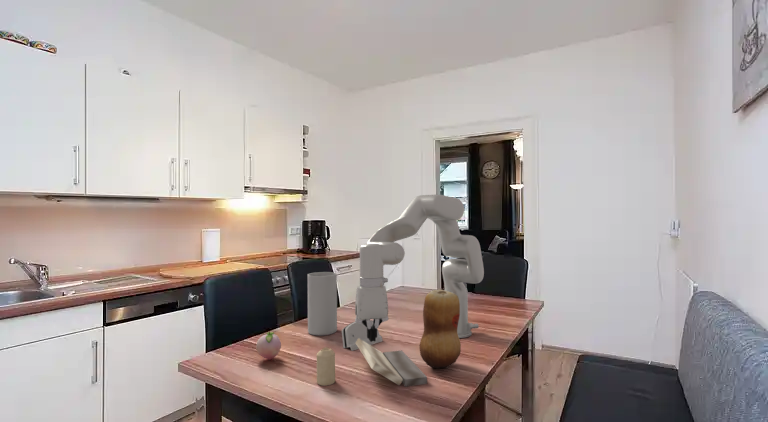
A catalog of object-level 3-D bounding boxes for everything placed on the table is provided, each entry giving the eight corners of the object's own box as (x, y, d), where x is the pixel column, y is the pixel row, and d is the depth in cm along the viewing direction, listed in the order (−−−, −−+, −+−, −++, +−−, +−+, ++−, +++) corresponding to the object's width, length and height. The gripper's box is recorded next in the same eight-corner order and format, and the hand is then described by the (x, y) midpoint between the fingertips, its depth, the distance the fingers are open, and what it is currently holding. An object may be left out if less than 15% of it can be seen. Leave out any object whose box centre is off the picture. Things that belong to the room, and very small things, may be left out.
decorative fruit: (255, 357, 139) (255, 329, 140) (279, 354, 142) (279, 326, 142) (257, 366, 131) (256, 336, 131) (282, 363, 134) (282, 333, 134)
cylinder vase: (302, 334, 166) (301, 275, 166) (317, 326, 178) (317, 271, 178) (327, 337, 161) (327, 277, 162) (342, 329, 173) (341, 272, 173)
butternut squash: (451, 378, 120) (450, 296, 120) (412, 369, 127) (412, 292, 127) (467, 363, 131) (466, 289, 132) (431, 356, 139) (430, 285, 139)
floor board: (401, 356, 139) (401, 350, 139) (427, 383, 116) (427, 376, 116) (383, 358, 137) (383, 352, 137) (404, 386, 114) (404, 379, 114)
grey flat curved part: (351, 351, 145) (345, 323, 147) (343, 352, 148) (338, 325, 150) (383, 340, 156) (377, 315, 159) (376, 342, 160) (370, 317, 162)
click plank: (378, 357, 137) (381, 352, 137) (399, 385, 114) (403, 379, 114) (355, 342, 135) (358, 337, 135) (371, 369, 112) (375, 362, 112)
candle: (317, 378, 120) (317, 346, 121) (335, 377, 121) (335, 345, 121) (315, 386, 115) (315, 352, 115) (334, 385, 115) (334, 351, 116)
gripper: (390, 279, 130) (391, 334, 130) (346, 281, 126) (346, 338, 126) (397, 283, 123) (398, 341, 122) (350, 285, 119) (351, 346, 118)
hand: (372, 340), depth 124 cm, fingers closed
